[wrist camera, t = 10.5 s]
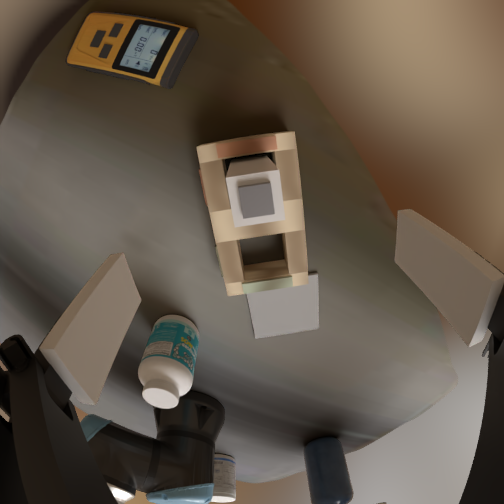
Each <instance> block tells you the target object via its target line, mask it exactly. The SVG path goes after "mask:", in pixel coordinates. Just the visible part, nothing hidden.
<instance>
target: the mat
mask: <svg viewBox="0 0 504 504" xmlns="http://www.w3.org/2000/svg"><path fill="white" fill-rule="evenodd" d="M308 281H309V284H306V285H300V286H294V287H287V288H281V289H275V290H268V291H261V292H254V293H247V298H248V303H249V308H250V313H251V318H252V323H253V328H254V333H255V338H256V339H257V338H264V337H271V336H278V335H284V334H290V333H296V332H302V331H308V330H313V329H319V296H318V273H317V272H316V273H310V274H308Z"/></svg>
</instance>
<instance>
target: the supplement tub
mask: <svg viewBox="0 0 504 504" xmlns="http://www.w3.org/2000/svg"><path fill="white" fill-rule="evenodd" d="M214 483H215V485H214V488H213V497H212V500H211V502H232V501H235V496H236V480H235V460H234V458H232V457H230V456H228V455H223V454H215V458H214Z"/></svg>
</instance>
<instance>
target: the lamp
mask: <svg viewBox="0 0 504 504" xmlns="http://www.w3.org/2000/svg"><path fill="white" fill-rule="evenodd" d="M304 459H305V466H306V472H307V478H308V485H309V491H310V497H311V503H312V504H348V503H349V502H350V501H351V500H352V498H353V489H352V485H351V480H350V476H349V472H348V468H347V464H346V459H345V455H344V451H343V448H342V444H341V442H340V441H339V440H338V439H337V438H334V437H322V438H318V439H315V440H313V441H311V442H309V443H308V444H307V445H306V447H305V448H304ZM378 504H386V503H385V502H383V503H378Z"/></svg>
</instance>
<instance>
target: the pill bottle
mask: <svg viewBox="0 0 504 504" xmlns="http://www.w3.org/2000/svg"><path fill="white" fill-rule="evenodd" d="M198 344H199V332H198V329H197V328H196V326H195V325H194V324H193V323H192V322H191V321H190V320H188V319H187V318H185V317H182V316H179V315H166V316H163V317H161V318H159V319H158V320H157V321H156V323H155V324H154V327H153V329H152V332H151V335H150V337H149V340H148V343H147V346H146V348H145V351H144V354H143V357H142V360H141V363H140V366H139V369H138V376H139V380H140V382H141V383H142V385H143V386H144V388H143V392H142V396H143V398H144V399H145V400H146V401H147V402H148V403H149V404H151V405H153V406H155V407H159V408H164V409H170V408H174V407H176V406H177V405H178V402H179V397H180V396H182V395H184V394H186V393H187V392H188V391H189V390H190V388H191V386H192V382H193V375H194V368H195V362H196V356H197V349H198Z"/></svg>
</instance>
